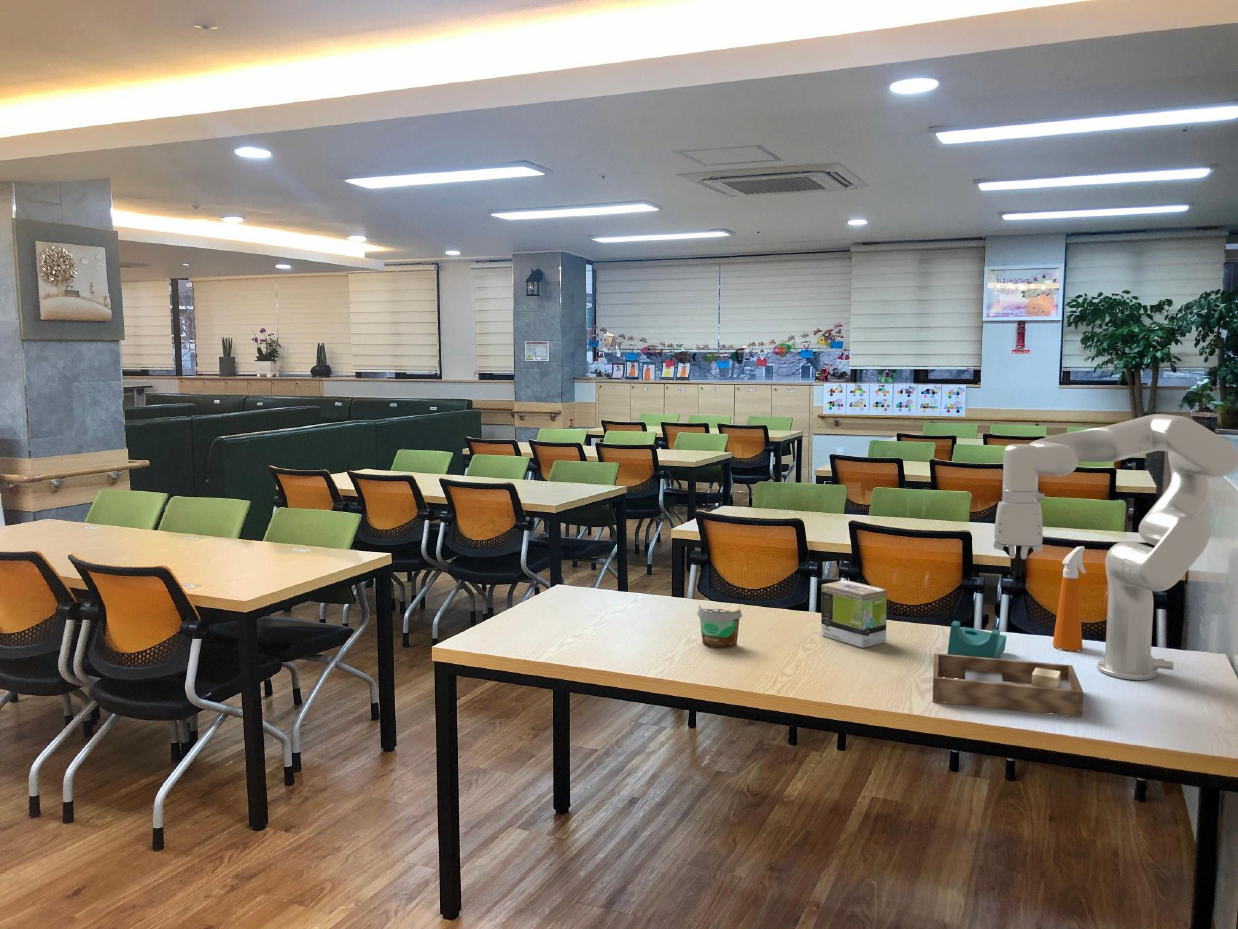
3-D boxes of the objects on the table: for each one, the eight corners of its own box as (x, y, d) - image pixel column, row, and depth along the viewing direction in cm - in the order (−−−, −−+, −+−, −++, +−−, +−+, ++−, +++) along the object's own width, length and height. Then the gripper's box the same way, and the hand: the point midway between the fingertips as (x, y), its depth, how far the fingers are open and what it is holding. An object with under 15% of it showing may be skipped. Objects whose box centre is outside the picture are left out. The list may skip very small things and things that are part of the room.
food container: (691, 647, 245) (691, 610, 244) (698, 640, 250) (697, 605, 249) (736, 652, 240) (736, 615, 239) (742, 645, 246) (742, 609, 245)
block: (1059, 693, 201) (1060, 671, 200) (1056, 700, 197) (1057, 678, 196) (1034, 689, 203) (1035, 667, 203) (1031, 696, 199) (1031, 674, 199)
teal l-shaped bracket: (992, 675, 222) (997, 634, 220) (946, 664, 227) (951, 624, 225) (1004, 654, 237) (1009, 616, 235) (960, 644, 242) (965, 607, 241)
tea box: (887, 642, 246) (888, 588, 245) (862, 649, 241) (863, 594, 239) (844, 629, 259) (845, 578, 257) (819, 635, 253) (820, 583, 252)
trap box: (1071, 688, 210) (1072, 665, 210) (1082, 717, 194) (1083, 692, 193) (933, 675, 220) (934, 653, 220) (932, 702, 204) (933, 678, 203)
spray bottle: (1095, 645, 241) (1099, 547, 238) (1073, 653, 235) (1077, 552, 232) (1069, 639, 247) (1073, 543, 244) (1047, 646, 241) (1051, 548, 238)
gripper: (1053, 496, 214) (1050, 573, 216) (984, 494, 219) (982, 569, 221) (1057, 501, 207) (1053, 580, 209) (986, 498, 212) (983, 576, 214)
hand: (1017, 574), depth 215 cm, fingers closed
